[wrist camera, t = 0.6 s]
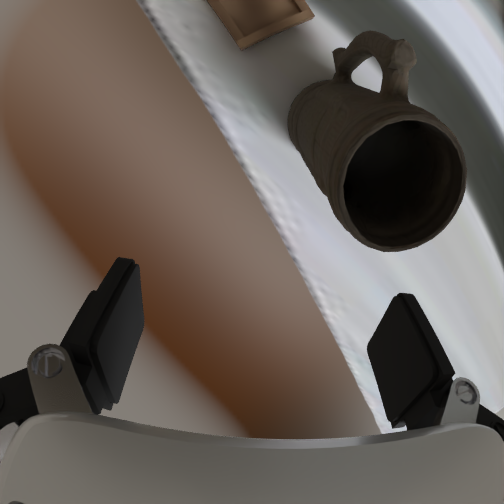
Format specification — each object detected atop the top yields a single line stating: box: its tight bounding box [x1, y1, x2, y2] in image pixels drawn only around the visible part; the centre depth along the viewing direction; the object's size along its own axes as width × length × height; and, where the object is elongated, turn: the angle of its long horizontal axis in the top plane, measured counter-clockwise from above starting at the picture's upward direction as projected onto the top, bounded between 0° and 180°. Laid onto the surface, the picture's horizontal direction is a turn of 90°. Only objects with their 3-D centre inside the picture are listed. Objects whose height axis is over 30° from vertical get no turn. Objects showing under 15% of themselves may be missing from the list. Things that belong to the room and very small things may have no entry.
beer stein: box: [288, 31, 467, 252], centre depth 23 cm, size 15×11×20 cm
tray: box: [207, 0, 315, 51], centre depth 24 cm, size 9×9×2 cm
